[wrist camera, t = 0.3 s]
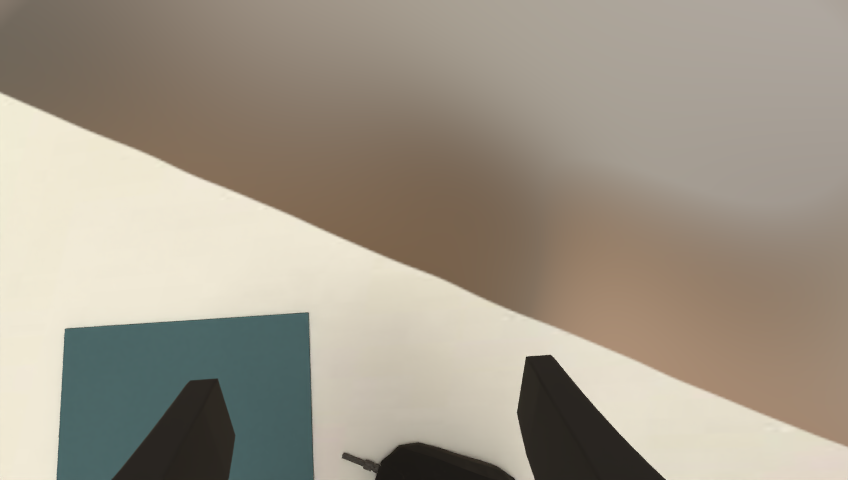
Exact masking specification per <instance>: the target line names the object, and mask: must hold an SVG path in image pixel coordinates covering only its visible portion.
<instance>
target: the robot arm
mask: <svg viewBox="0 0 848 480" xmlns="http://www.w3.org/2000/svg"><path fill="white" fill-rule="evenodd" d="M517 415H518V420H519V424H520V429H521V434H522V438H523V442H524V446H525V451H526V455H527V458H528V461H529V464H530V467H531V469H532V472H533V475H534V478H535V480H666V479H665V478H663V477H662V476H661V475H660V474H659V473H658V472H657V471H656V470H655V469H654V468H653V467H652V466H651V465H650V464H649V463H648V462H647V461H646V460H645V459H644V458H643V457H642V456H641V455H640V454H639V453H638V452H637V451H636V450H635V449H634V448H633V447H632V446H631V445H630V444H629V443H628V442H627V441H626V440H625V439H624V438H623V437H622V436H621V435H620V434H619V433H618V432H617V431H616V429H615V428H614V427H613V426H612V425H611V424H610V423H609V422H608V421H607V420H606V419H605V417H604V416H603V415H602V414H601V413H600V412H599V411H598V410H597V409H596V407H595V406H594V405H593V404H592V403H591V402H590V401H589V399H588V398H587V397H586V396H585V395H584V394H583V392H582V391H581V390H580V389H579V388H578V386H577V385H576V384H575V383H574V382H573V380H572V379H571V378H570V377H569V376H568V374H567V373H566V372H565V371H564V369H563V368H562V367H561V366H560V365H559V363H558V362H557V361H556V360H555V358H554V357H553V356H551V355H542V356H528V357H526V360H525V366H524V373H523V379H522V385H521V391H520V397H519V403H518V410H517ZM235 436H236V435H235V432H234V429H233V426H232V422H231V419H230V416H229V413H228V410H227V406H226V403H225V400H224V397H223V394H222V390H221V387H220V384H219V381H218V378H216V379H202V380H190V381H189V382H188V383H187V384H186V385H185V387H184V388H183V389H182V391H181V392H180V393H179V395H178V396H177V397H176V399H175V400H174V401H173V403H172V404H171V405H170V407H169V408H168V409H167V411H166V412H165V413H164V415H163V416H162V417H161V418H160V420H159V421H158V422H157V424H156V425H155V426H154V428H153V429H152V430H151V431H150V433H149V434H148V435H147V437H146V438H145V439H144V440H143V442H142V443H141V444H140V445H139V447H138V448H137V449H136V450H135V451H134V453H133V454H132V455H131V456H130V458H129V459H128V460H127V461H126V463H125V464H124V465H123V466H122V468H121V469H120V470H119V471H118V472H117V474H116V475H115V476H114V477H113V478H112V479H111V480H229V474H230V468H231V462H232V456H233V449H234V442H235Z"/></svg>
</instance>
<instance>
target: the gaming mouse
mask: <svg viewBox="0 0 848 480" xmlns="http://www.w3.org/2000/svg"><path fill="white" fill-rule="evenodd" d="M342 458H344V459H346V460H349V461H351V462H354V463H356V464H359V465H361V466H363V468H364V469H366V470H369V471H371V470H373V472H375V473H377V476H376V479H375V480H515V479H514V478H513V477H511V476H510V475H508V474H507V473H506V472H504V471H503V470H501V469H500V468H498V467H497V466H494V465H492V464H489V463H486V462H483V461H480V460H477V459H473V458H469V457H466V456H462V455H459V454H456V453H453V452H450V451H447V450H444V449H441V448H437V447H434V446H430V445H426V444H422V443H412V444H405V445H399V446H398V447H397V448H396V449H395V450H394V451H393V452H392V453H391V454H390V455H389V456H388V457H387V458H385V459H384V460H383V461H382V462H381V465H378V464H376V465H375V464H374V462H371V461H369V460H366V461H364V460H361V459H359V458H356V457H354V456H351V455H349V454H346V453H344V454H343V456H342Z"/></svg>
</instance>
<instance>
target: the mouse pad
mask: <svg viewBox="0 0 848 480" xmlns="http://www.w3.org/2000/svg"><path fill="white" fill-rule="evenodd" d="M216 378H218V381H219V384H220V387H221V390H222V394H223V397H224V400H225V403H226V406H227V410H228V413H229V416H230V419H231V422H232V426H233V429H234V432H235V435H236V436H235V442H234V449H233V456H232V462H231V468H230V474H229V480H314V478H313V444H312V411H311V377H310V344H309V313H295V314H280V315H265V316H250V317H235V318H219V319H204V320H189V321H174V322H159V323H144V324H129V325H114V326H99V327H84V328H69V329H65V337H64V355H63V373H62V391H61V410H60V428H59V446H58V464H57V480H111V479H112V478H113V477H114V476H115V475H116V474H117V472H118V471H119V470H120V469H121V468H122V466H123V465H124V464H125V463H126V461H127V460H128V459H129V458H130V456H131V455H132V454H133V453H134V451H135V450H136V449H137V448H138V447H139V445H140V444H141V443H142V442H143V440H144V439H145V438H146V437H147V435H148V434H149V433H150V431H151V430H152V429H153V428H154V426H155V425H156V424H157V422H158V421H159V420H160V418H161V417H162V416H163V415H164V413H165V412H166V411H167V409H168V408H169V407H170V405H171V404H172V403H173V401H174V400H175V399H176V397H177V396H178V395H179V393H180V392H181V391H182V389H183V388H184V387H185V385H186V384H187V383H188V382H189V381H190V380H202V379H216Z"/></svg>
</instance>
